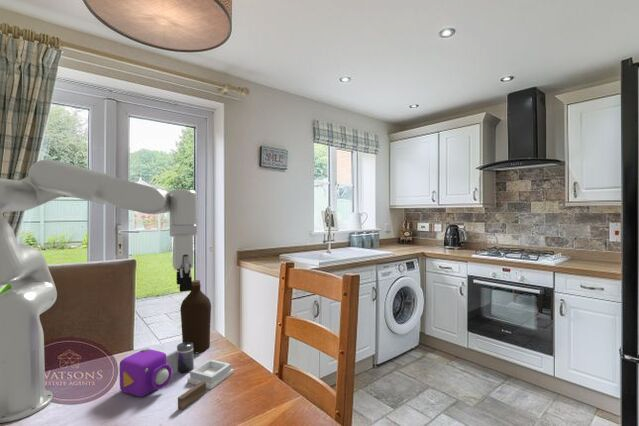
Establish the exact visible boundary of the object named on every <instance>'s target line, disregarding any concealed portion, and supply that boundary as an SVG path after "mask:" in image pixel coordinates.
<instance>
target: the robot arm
mask: <svg viewBox="0 0 639 426" xmlns="http://www.w3.org/2000/svg"><path fill="white" fill-rule="evenodd" d="M27 175H28V176H26V177H24V178H22V179H19V180H15V179H8V178H0V287H1V286H6V285H10V287H11V288H10V289H8V290H6V291H4V292H1V294H0V424H1V423H4V424H5V423H8V422H14V421H18V420H20V419H23V418H26V417H28V416H31V415H33V414H36V413H37V412H39V411H41V410H43V409H44V408H46V407H47V406H48V405H50V403H51V402H52V400H53V398H54V396H53V395H54V393H53V392H52V391H51V390H48V389H46V375H45V374H46V370H45V366H46V365H45V341H44V340H45V336H44V329H43V326H42V323H41V319H40V315H41V314H43V313H45V312H46V311H47V310H49V309H50V308H51V307H52V306H53V305H54V304H55V303H56V301H57V297H58V292H57V288H56V283H55V282H54V279H53V276H52V274H51V272H50V268H49V265H48V263H47V261H46V258H45V256H44V254H43V253H41V251H40V250H38V249H37V248H36V247H34V246H31V245H27V244H19V241H18V240H17V237H16V234H15V232H14V230H13V227H12V226H11V225H10V223H9V221H8V220H7V219H6V218H5V217H4V213H5V212H24V211H25V212H26V211H29V210H32V209H35V208H37V207H40V206H42V205H44V204H47V203H49V202H51V201H53V200H56V199H58V198H61V197H63V196H66V197H70V198H71V197H72V198H76V199H80V200H83V201H88V202H91V203H92V202H93V203H96V204H100V205H107V206H111V207H116V208H119V209H123V210H128V211H133V212H137V213H142V214H145V215H160V214H166V213H169V237H173V240H172V267H173V270H175V271H176V285H179V292H180V293H182V292H183V293H184V292H191V290H192V281H193V277H192V270H193V267H194V236H197V235H198V210H197V209H198V208H197V202H198V201H197V199H198V197H197V192H196V191H195V190H194V189H184V188H183V189H172V190H169V189H168V190H167V189H160V188H158V187H154V186H150V185H147V184H142V183H139V182H134V181H130V180H128V179H127V180H126V179H123V178H119V177H116V176H113V175H111V174H109V173H105V172H101V171H98V170H95V169H90V168H86V167H83V166H78V165H74V164H70V163H66V162H63V161H60V160H59V161H58V160H54V159H40V160H38V161H35V163H33V164H32V165H31V166H30V168H29V170H28V173H27Z"/></svg>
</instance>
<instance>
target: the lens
mask: <svg viewBox="0 0 639 426" xmlns="http://www.w3.org/2000/svg"><path fill="white" fill-rule="evenodd" d="M176 359H177V360H176V361H177V362H176V363H177V366H176V367H177V369H176V370H177V373H178V374H188V373H190V371H192V370H193V369H195V368H194V367H195V366H194V353H193V343H192V342H181V343H179V344H177V346H176Z"/></svg>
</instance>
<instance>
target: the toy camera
mask: <svg viewBox="0 0 639 426" xmlns="http://www.w3.org/2000/svg"><path fill="white" fill-rule="evenodd" d="M167 360H168V357H167V354H166V353H165V352H164V351H160V350H156V349H150V348H149V347H143V348H141V350H139V351H137V352H135V353H133V354H131V355H129V356H126V357H125V358H123V359H121V360H120V361H119V366H118V369H119V371H118V372H119V389H120V390H121V392H123V393H126V394H130V395H131V396H136V397H139V398H140V397H144V396H146V395H148V394H149V393H151V392H153V391H155V390H162V389H164V388H165V386H167V385H168V383H169V381H170V379H171V377H172V375H173V371H172V370H173V369H172V366H171V365H170V364H168V361H167Z"/></svg>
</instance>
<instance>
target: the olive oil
mask: <svg viewBox="0 0 639 426" xmlns="http://www.w3.org/2000/svg"><path fill="white" fill-rule="evenodd" d="M201 284H202V283H201V280H198V279H195V280H192V290H191V291H189V293H188V294H187V295H186V296H185V298H184V299H183V300H182V302H181V305H180V322H181V336H182V337H181V338H182V342H181V343H183V342H192V343H193V354H198V353H202V352H205V351H207V350H208V349H209V348H210V347H211V319H212V318H211V317H212V316H211V315H212V303H211V301H210V299H209V297H208V296H207V295H206V294H205V293H203V291H202V290H201V288H202V287H201Z"/></svg>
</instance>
